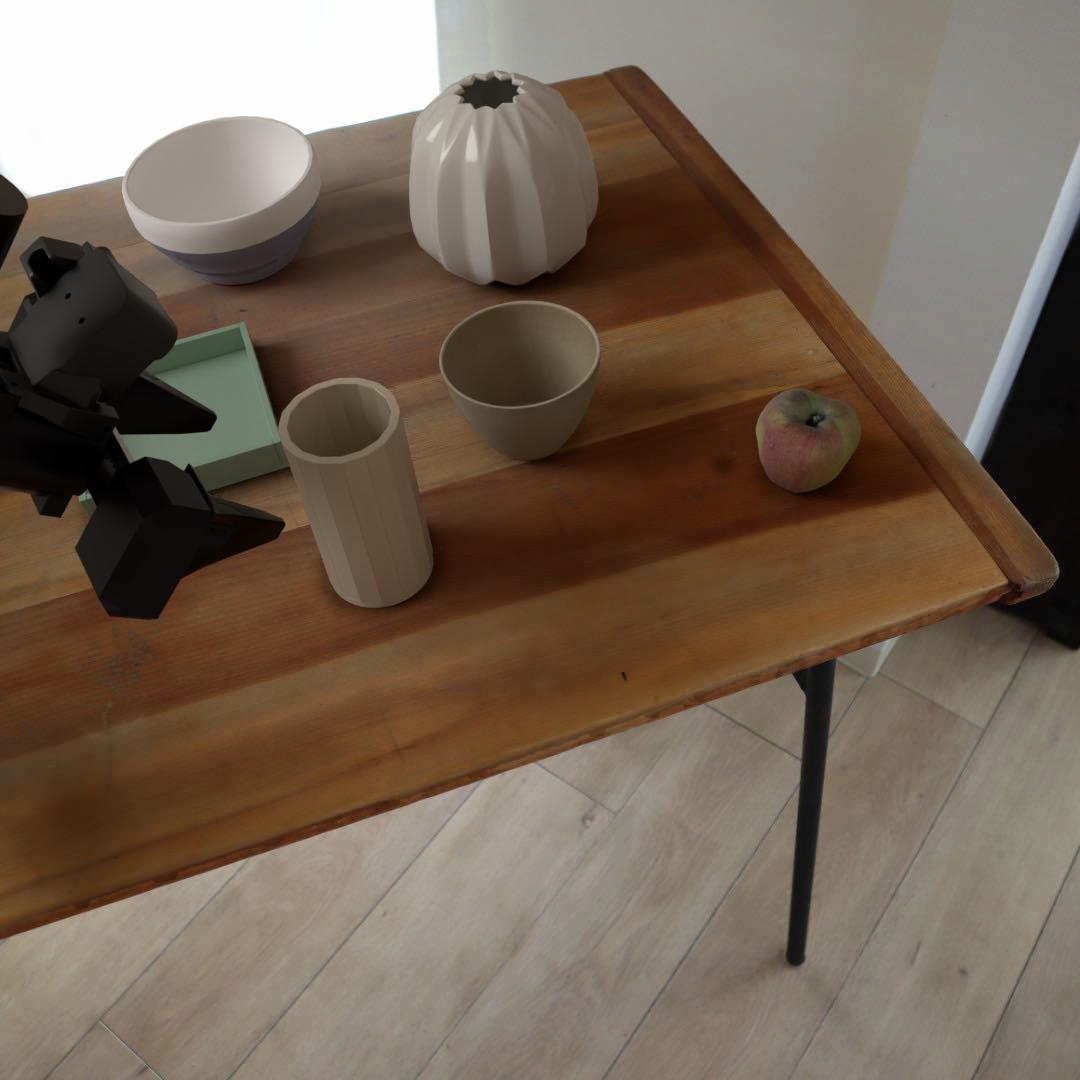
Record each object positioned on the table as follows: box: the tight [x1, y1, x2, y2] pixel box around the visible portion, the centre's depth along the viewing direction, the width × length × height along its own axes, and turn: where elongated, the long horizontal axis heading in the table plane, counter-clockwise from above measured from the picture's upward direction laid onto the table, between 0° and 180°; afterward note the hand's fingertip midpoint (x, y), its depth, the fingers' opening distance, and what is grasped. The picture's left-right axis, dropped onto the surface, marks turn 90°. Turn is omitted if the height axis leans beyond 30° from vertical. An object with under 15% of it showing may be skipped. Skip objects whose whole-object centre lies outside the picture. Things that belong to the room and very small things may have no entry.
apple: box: [723, 387, 862, 494], centre depth 72 cm, size 6×8×6 cm
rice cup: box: [278, 377, 435, 609], centre depth 67 cm, size 6×6×12 cm
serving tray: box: [77, 320, 290, 521], centre depth 80 cm, size 13×13×2 cm
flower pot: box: [438, 300, 602, 461], centre depth 75 cm, size 10×10×7 cm
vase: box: [408, 69, 599, 287], centre depth 85 cm, size 14×14×13 cm
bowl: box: [121, 115, 322, 286], centre depth 90 cm, size 14×14×8 cm
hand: (245, 473), depth 61 cm, fingers open, 9 cm apart
